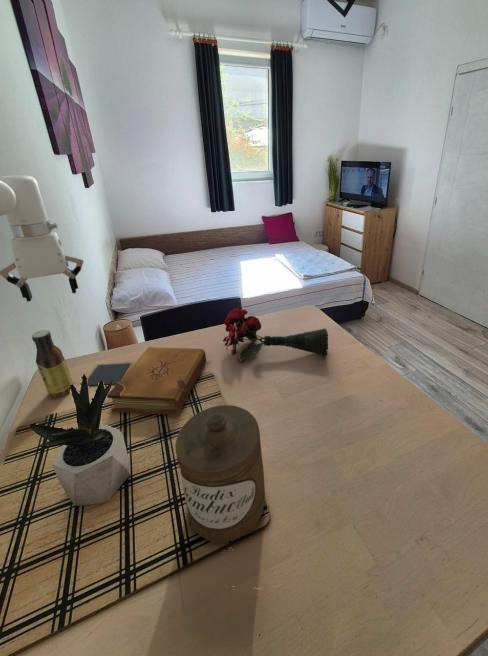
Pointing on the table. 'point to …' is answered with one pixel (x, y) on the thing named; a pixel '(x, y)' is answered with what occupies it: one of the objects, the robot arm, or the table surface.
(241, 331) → the carnation
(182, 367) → the diary
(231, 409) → the wooden container
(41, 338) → the sauce bottle
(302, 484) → the table surface
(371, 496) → the table surface
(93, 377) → the mat
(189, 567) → the table surface
